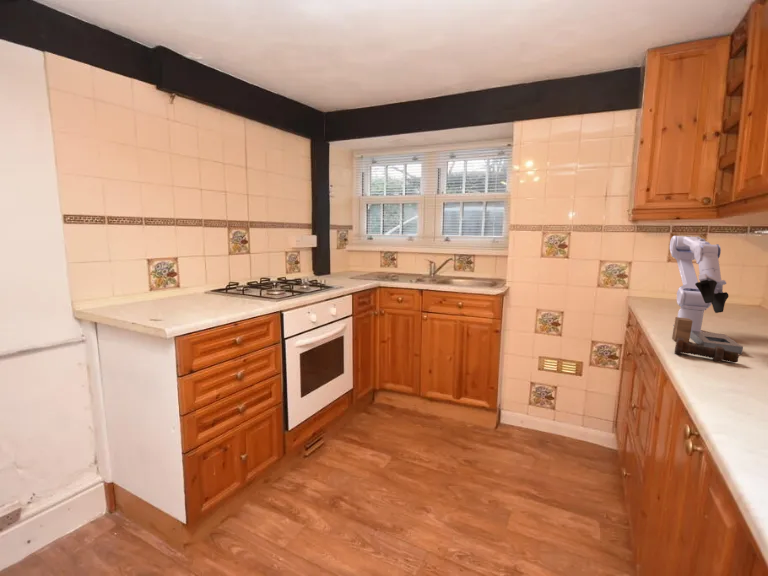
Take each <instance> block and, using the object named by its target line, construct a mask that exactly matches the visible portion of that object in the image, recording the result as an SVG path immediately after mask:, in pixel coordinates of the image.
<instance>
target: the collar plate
mask: <svg viewBox="0 0 768 576" xmlns="http://www.w3.org/2000/svg"><path fill="white" fill-rule="evenodd" d="M690 339H691V340H692V341H693V342H694V343H695V344H696V345H700V346H705V347H711V348H715V347H716V346H720V347H723V348H724V350H725V351H731V352H735V353H738V354H739V355H742V354H743V349H744V346H743V345H741V344H739V343H738V342H736V341H735V340H734V339H732V338H731V337H729V336H728V335H726V334H725V333H724V334H723V333H717V332H716V333H715V332H708V331H703V332H700V331H691V333H690Z"/></svg>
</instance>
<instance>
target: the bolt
mask: <svg viewBox="0 0 768 576" xmlns="http://www.w3.org/2000/svg"><path fill="white" fill-rule="evenodd" d="M674 347H675V348H674V354H675V356H676V355H677V356H681V355H682V354H689V355H696V356H700V357H706V358H709V359H712V360H713V361H714V362H718V363H721V362H723V361H725V362H729V363H738V362H739V358H740V354H738V353H735V352H731V351H725V350H724V348H723V347H720V346H716V347H715V348H711V347H705V346H700V345H698V344H697V343H695V344H693V343H690V342H689V343H686V342H684V339H683V338H677V341H676V342H675V346H674Z"/></svg>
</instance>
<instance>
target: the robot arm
mask: <svg viewBox="0 0 768 576" xmlns="http://www.w3.org/2000/svg"><path fill="white" fill-rule="evenodd" d="M669 251H670V254H671V257H672V258H673V259H675V261H676V263H677V267H678V271H679V275H680V277H681V278H680V279H681V283H682V285H681V286H680V287H678V289H677V291H676V304H677V305H678V306H679V307H680V308H679V310H678V311H677V317H680V318H689V319H691V320H692V321H693V322H692V327H691V331H700V332H704V331H703V330H702V325H703V319H704V314H705V311H707V309H709V308H710V307H711V306H712V309H713V311H714V313H715V314H718V313H723V312H724V309H725V306H726V305H725V304H726V301H727V299H728V298H729V293H728V292H726V291H725V292H724V291H723V289H724V285H727V281H726V280H725V279H723V280H722V275H721V268H720V261H719V258H720V257H721V251H722V249H721V246H720V244H711V243H710V242H709V241H706V239H705V238H702V237H700V236H684V235H673V236H672V237H671V238H670V242H669ZM694 260H695V262H696V264H697V265H698V273H699V274H698V276H697V274H696V270H695V266H694V264H693V261H694ZM673 327H674V324H673Z"/></svg>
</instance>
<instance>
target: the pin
mask: <svg viewBox="0 0 768 576" xmlns="http://www.w3.org/2000/svg"><path fill="white" fill-rule="evenodd" d="M692 322H693V321H692V320H691V319H689V318H680V317H678V316H676V317H675V319H674V324H673V325H674V326H673V330H672V336H671V339H672V340H673V341H674V342H675V343H676V341H677V338H683V339H684V342H686V343H690V339H691V338H690V333H691V327H692Z"/></svg>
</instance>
